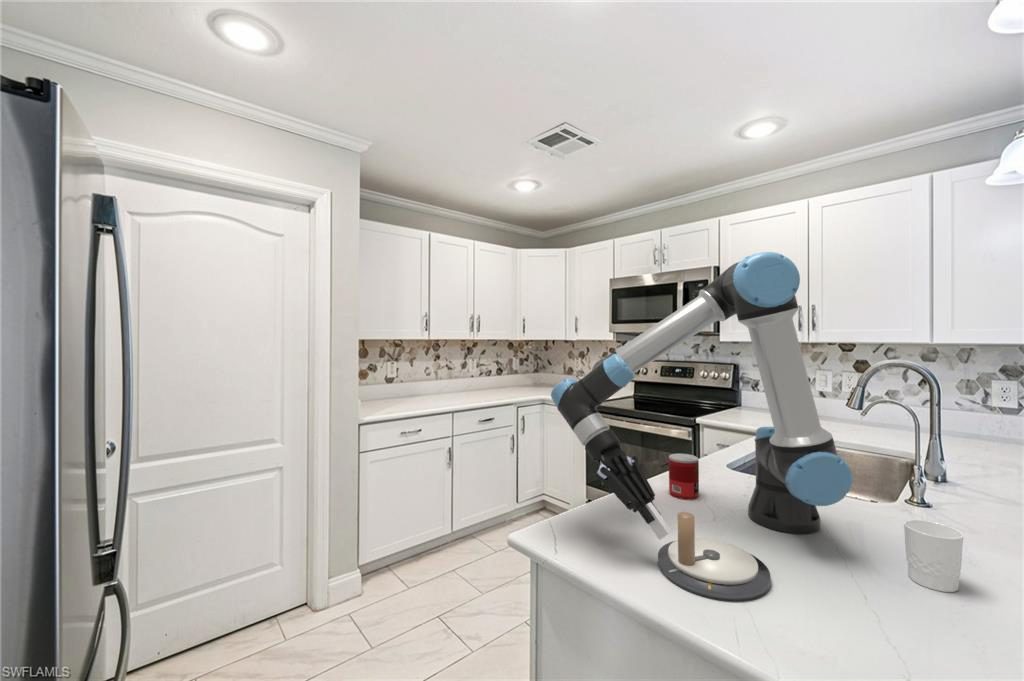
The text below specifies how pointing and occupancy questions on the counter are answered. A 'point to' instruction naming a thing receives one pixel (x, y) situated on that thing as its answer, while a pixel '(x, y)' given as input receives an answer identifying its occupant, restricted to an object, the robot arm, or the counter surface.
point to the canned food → (684, 476)
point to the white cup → (933, 554)
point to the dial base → (714, 590)
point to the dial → (710, 556)
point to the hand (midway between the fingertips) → (665, 535)
